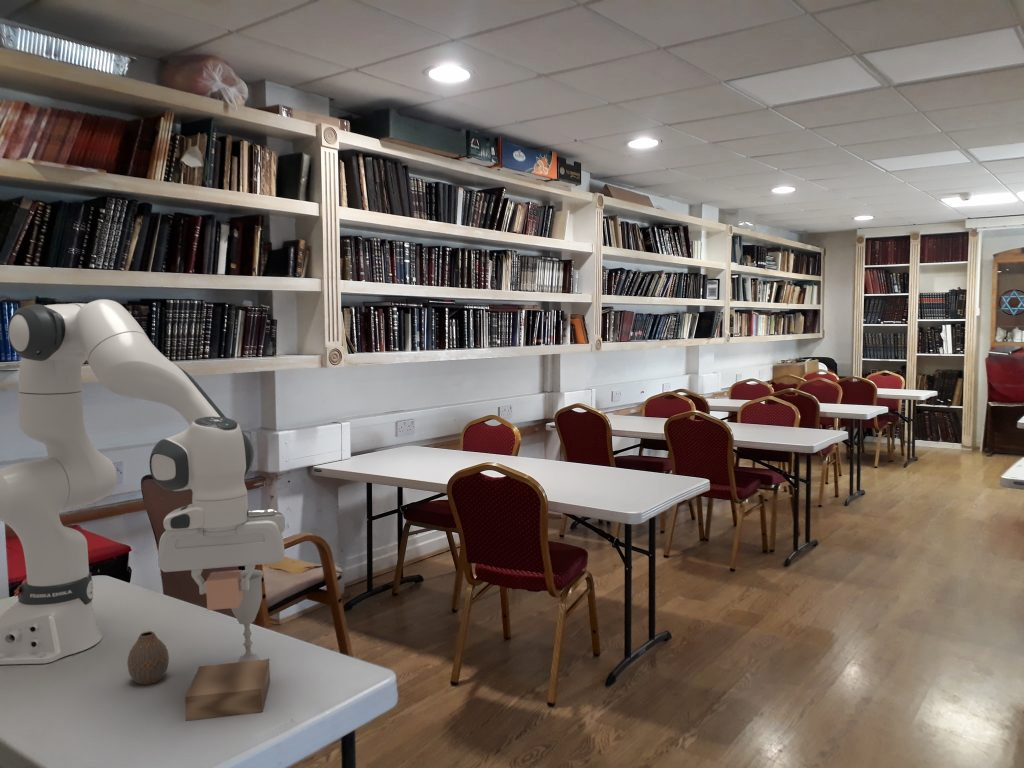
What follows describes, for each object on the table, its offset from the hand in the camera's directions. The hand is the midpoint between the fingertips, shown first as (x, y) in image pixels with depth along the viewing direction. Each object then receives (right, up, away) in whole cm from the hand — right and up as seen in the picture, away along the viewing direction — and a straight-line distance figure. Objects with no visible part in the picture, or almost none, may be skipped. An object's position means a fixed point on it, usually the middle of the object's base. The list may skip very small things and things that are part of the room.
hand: (224, 591), depth 133 cm
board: (0, -19, +1) cm, 19 cm away
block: (0, -2, 0) cm, 2 cm away
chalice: (-1, -19, +14) cm, 23 cm away
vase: (-18, -19, +10) cm, 28 cm away
